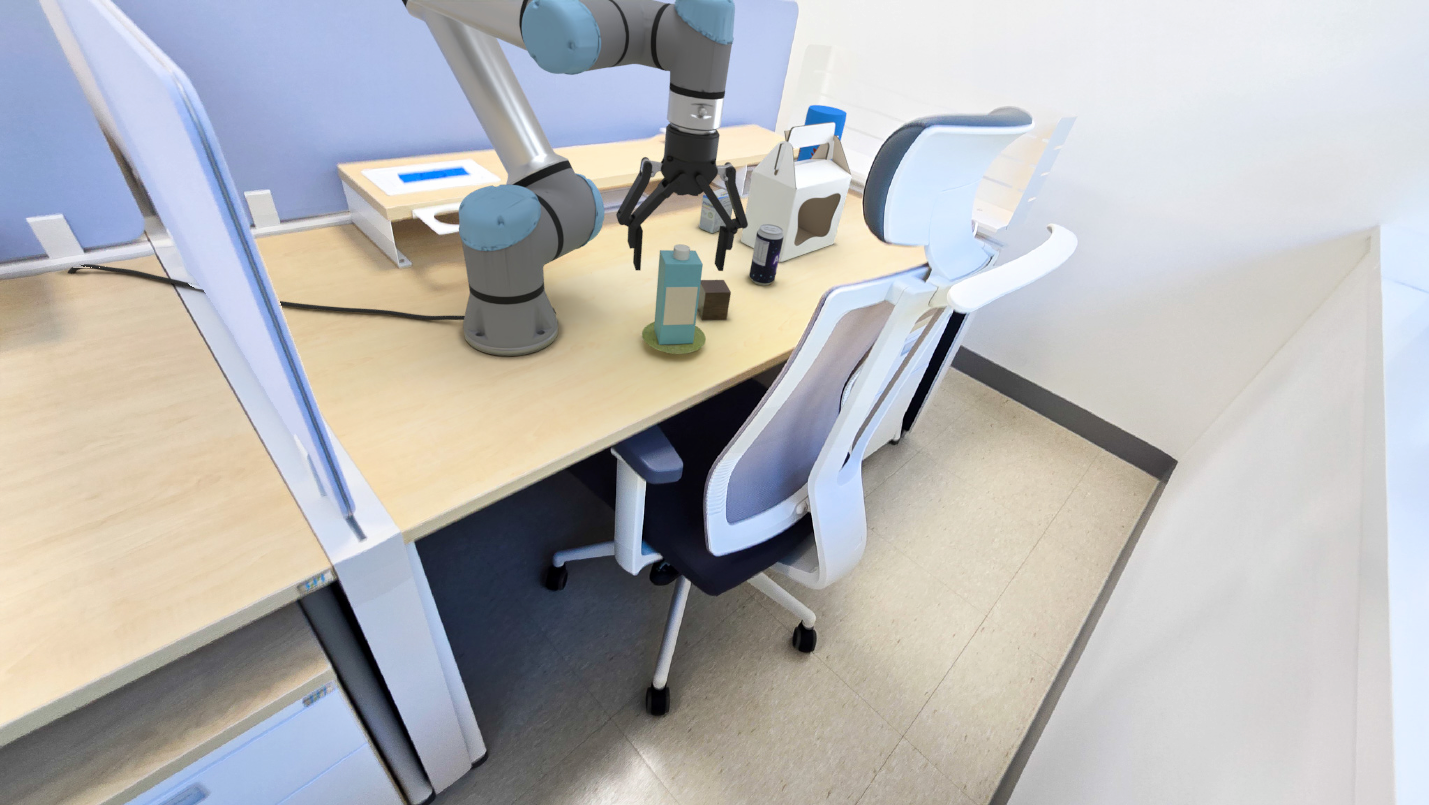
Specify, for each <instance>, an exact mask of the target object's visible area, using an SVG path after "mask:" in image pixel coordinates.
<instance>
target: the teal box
mask: <svg viewBox="0 0 1429 805" xmlns="http://www.w3.org/2000/svg"><path fill="white" fill-rule="evenodd" d="M658 256H659V258H658V269H657V270H658V271H657V283H656V284H657V285H656V298H655V312H654V321H655V324H654V330H655V333H656V336H657V339H658V342H659V345H665V344H692V343H693V339H694V331H695V326H696V321H697V313H698V310H697V307H698V299H699V291H700V283H701V280H702V274H703V265H704V264H703V262H702V260H701V258H700V256H699V254H698V253H697V250H691V247H690V246H689V245H686V244H683V243H682V244H681V243H679V244H678V243H677V244H675V245H674V246H673V250H672V249H670V250H669V249H660V250H659V255H658Z"/></svg>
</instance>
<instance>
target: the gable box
mask: <svg viewBox="0 0 1429 805" xmlns="http://www.w3.org/2000/svg"><path fill="white" fill-rule="evenodd" d="M834 131H835V123H834V122H827V123H819V124H811V125H805V124H804V125H796V126H792V127H791V128H790V129H788V130H784V140H782V141H779V142H778V143H776V145H775V146H774V147H772V149H771V150H770V151H769V152H768V154H767V155H766V156H765V157H764V158H762V160H761V161H760V162H759V163H758V164H757V165H756V166H755V167H754V169H752V170H751V171H752V172H751V178H750V184H749V189H748V190H749V191H748V196H747V202H746V207H745V216H746V219H747V222H748V226H747V228H744V229H743V228H742V232H741V237H740V238H741V239H740V243H742V244H744V245H746V246H748V247H750V248H752V249H754V246H755V240H756V235H757V231H758V230H759V229H760V226H761V225H763V224H772V225H776V226H779V227H780V228H782V229H783V236H784V238H783V243H782V247H781V252H780V257H779V261H778V263H782V262H786V261H788V260H791V259H794V258H797V257H800V256H803V255H806V254H809V253H812V252H815V251H818V250H820V249H823V248H827V247H828V246H833V245H834V243H835V240H836V236H837V233H838V228H839V226H840V222H841V219H842V218H841V217H842V214H843V211H844V206H845V203H846V199H847V197H848V196H847V195H848V192H849V189H850V185H851V181H852V178H853V177H852V173H851V169H850V166H849V164H848V160H847V156H846V154H845V151H844V147H843V144H842V142H841V141H842V140H841V141H840V139H839V138H838V137H839V136H838V135H834ZM819 144H821V145H820V146H819V148H818V149H817V151H816V152H815V154H814V155H813V157H812V158H811V159H808V160H803V161H797V160H796V161H795V155H794V149H800V148H801V147H807V146H813V145H819ZM830 159H832V160H830Z"/></svg>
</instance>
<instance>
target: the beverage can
mask: <svg viewBox="0 0 1429 805" xmlns="http://www.w3.org/2000/svg"><path fill="white" fill-rule="evenodd" d="M783 238H784V236H783V229H782V228H780V227H779V226H776V225H772V224H763V225H761V226H760V229H759V230H758V231H757V235H756V240H755V246H754V248H753V252H752V256H751V262H750V268H749V274H748V277H749V278H750V280H751V281H752V283H753V284H755V285H758V286H769V285H770V284H771V283H774V282H775V279H776V275H777V271H778V265H779V257H780V252H781V247H782V243H783Z"/></svg>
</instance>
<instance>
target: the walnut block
mask: <svg viewBox="0 0 1429 805" xmlns="http://www.w3.org/2000/svg"><path fill="white" fill-rule="evenodd" d="M731 294H732V291H731V290H730V288H729V286H728V285H727V282H726V281H725V279H701V283H700V291H699V299H698V307H697V313H698V315H699V316H700V320H702V321H722V320H723V321H724V320H725V321H726V320H727V319H728V312H729V308H730V301H731Z"/></svg>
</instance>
